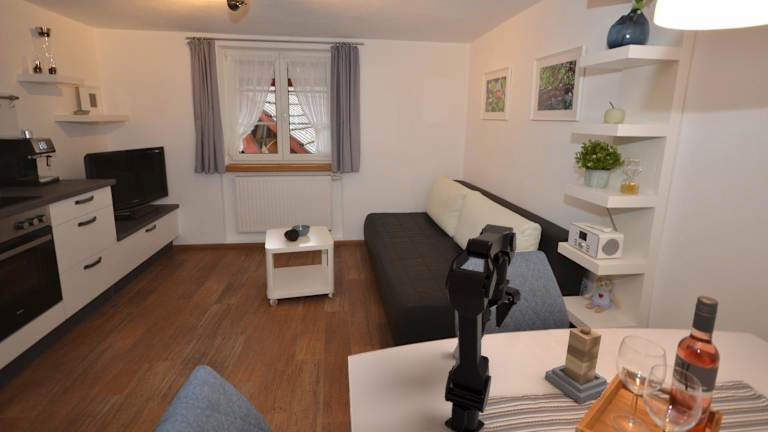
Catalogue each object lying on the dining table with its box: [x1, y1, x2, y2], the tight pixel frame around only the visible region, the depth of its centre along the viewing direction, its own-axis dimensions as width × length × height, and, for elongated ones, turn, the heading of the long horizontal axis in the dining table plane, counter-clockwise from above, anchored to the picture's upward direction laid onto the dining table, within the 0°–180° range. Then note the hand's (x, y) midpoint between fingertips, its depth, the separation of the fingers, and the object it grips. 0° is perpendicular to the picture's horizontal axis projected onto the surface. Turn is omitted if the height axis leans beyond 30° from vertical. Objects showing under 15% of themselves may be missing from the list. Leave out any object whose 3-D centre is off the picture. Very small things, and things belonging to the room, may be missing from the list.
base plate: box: [544, 364, 611, 405], centre depth 108 cm, size 11×11×3 cm
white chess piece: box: [453, 331, 459, 360], centre depth 118 cm, size 4×4×8 cm
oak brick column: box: [564, 325, 602, 386], centre depth 106 cm, size 5×5×14 cm
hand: (488, 333), depth 106 cm, fingers open, 9 cm apart
